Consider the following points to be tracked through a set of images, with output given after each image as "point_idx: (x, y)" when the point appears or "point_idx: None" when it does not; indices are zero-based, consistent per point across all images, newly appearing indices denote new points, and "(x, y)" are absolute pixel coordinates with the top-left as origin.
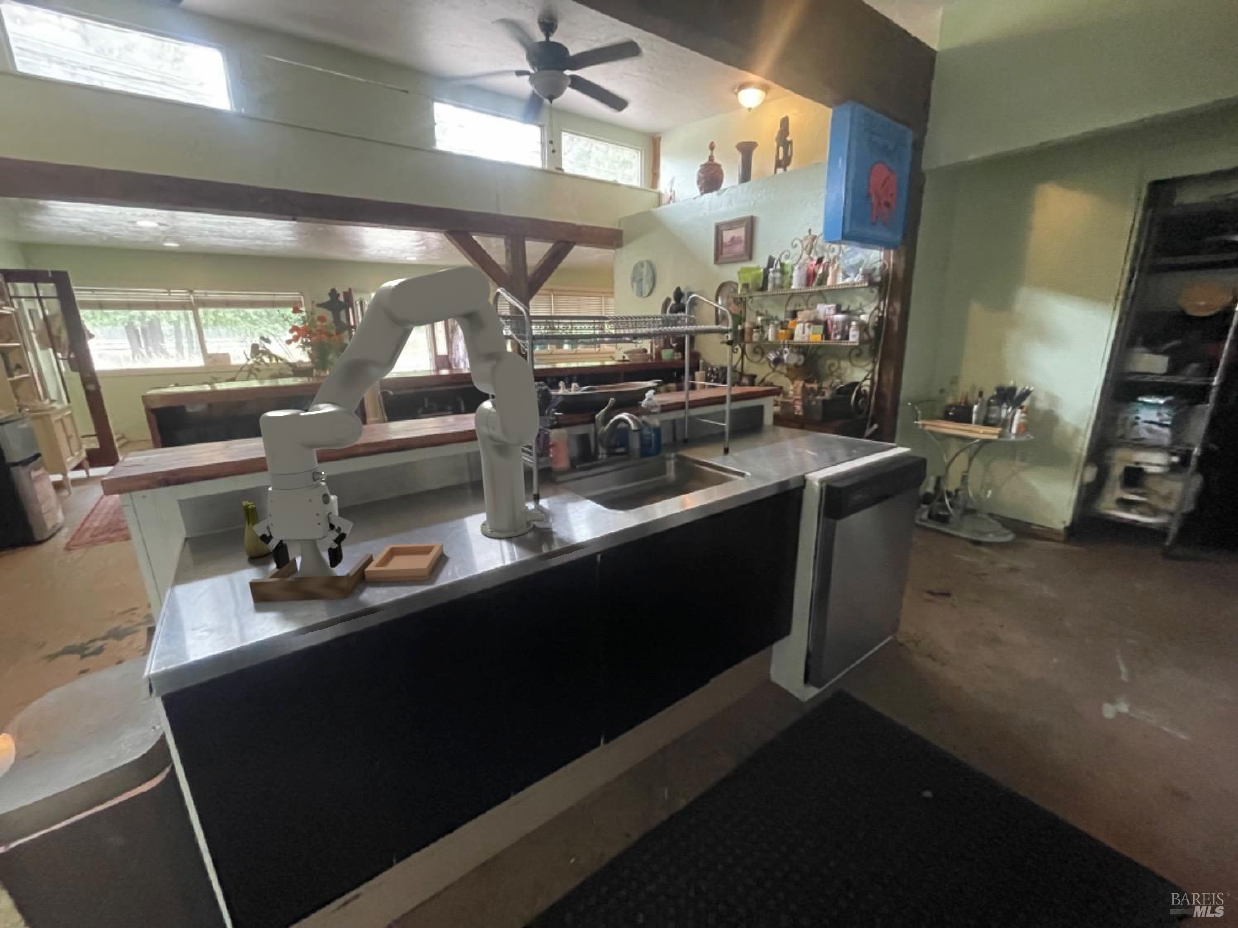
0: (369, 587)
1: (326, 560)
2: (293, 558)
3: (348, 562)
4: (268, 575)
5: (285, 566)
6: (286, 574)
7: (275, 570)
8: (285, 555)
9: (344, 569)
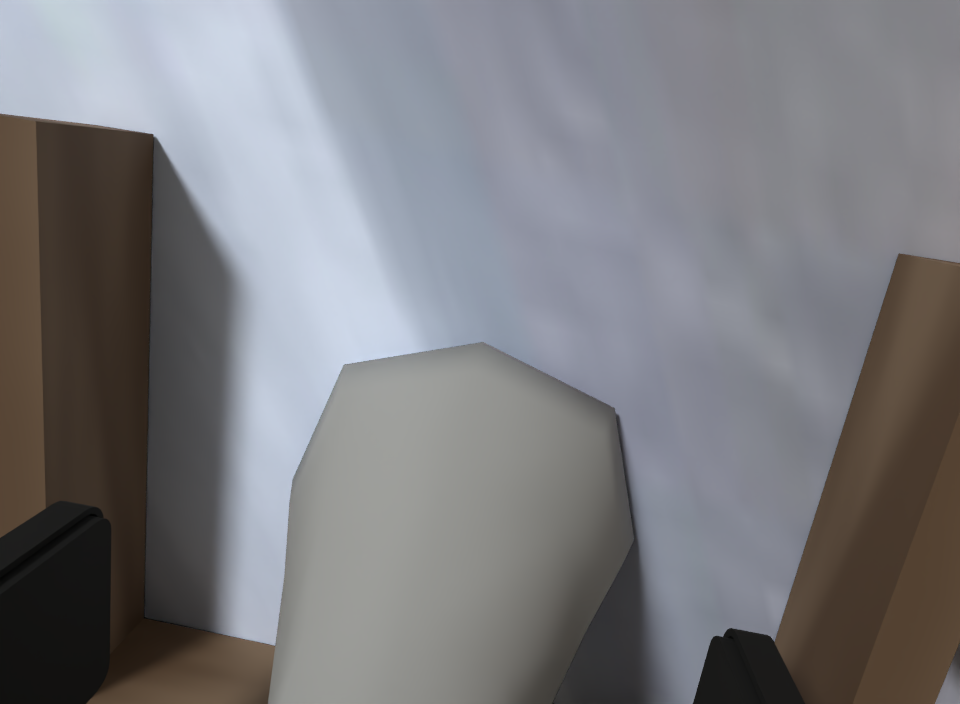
0: (949, 681)
1: (552, 558)
2: (40, 168)
3: (638, 47)
4: None
5: (58, 344)
6: (119, 330)
7: (21, 475)
8: (19, 645)
9: (635, 236)
